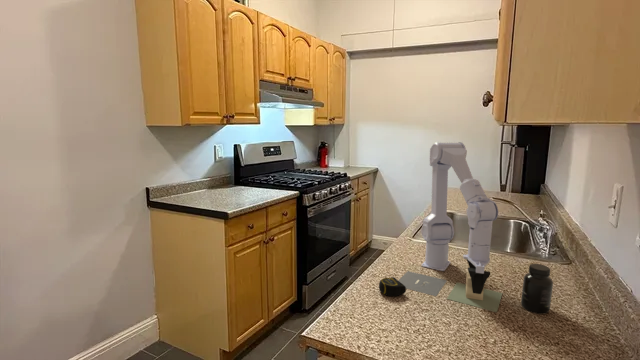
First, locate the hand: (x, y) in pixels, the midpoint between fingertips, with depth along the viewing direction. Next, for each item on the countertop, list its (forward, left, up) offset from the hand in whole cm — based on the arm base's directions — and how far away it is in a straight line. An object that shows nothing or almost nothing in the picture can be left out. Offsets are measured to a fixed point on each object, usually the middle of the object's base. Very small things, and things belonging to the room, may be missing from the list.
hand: (475, 287), depth 104 cm
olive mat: (0, 0, -3) cm, 3 cm away
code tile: (0, -16, -3) cm, 16 cm away
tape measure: (+11, -21, -3) cm, 24 cm away
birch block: (0, 0, -3) cm, 3 cm away
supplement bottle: (-2, +15, -3) cm, 15 cm away
